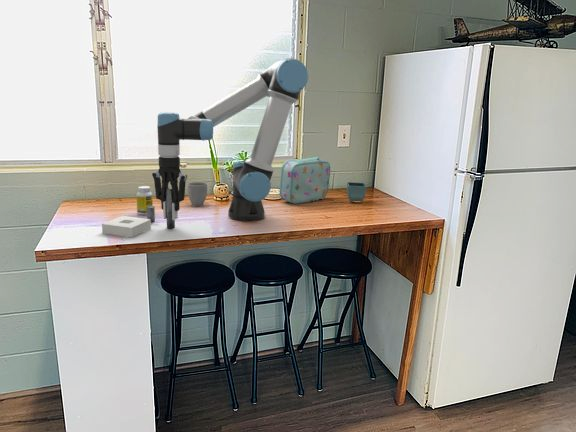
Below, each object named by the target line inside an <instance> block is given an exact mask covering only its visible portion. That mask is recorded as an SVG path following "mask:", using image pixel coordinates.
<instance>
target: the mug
mask: <svg viewBox="0 0 576 432" xmlns="http://www.w3.org/2000/svg"><path fill="white" fill-rule="evenodd" d="M186 185H187V186H186V187H187V195H188V199H189V201H190V204H191V205H192V207H193V206H194V207H200V206H201V207H202V206H204V205H205V201H206V198H207V195H208V183H207V182H204V181H192V182H187V184H186Z"/></svg>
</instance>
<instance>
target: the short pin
mask: <svg viewBox="0 0 576 432" xmlns="http://www.w3.org/2000/svg"><path fill="white" fill-rule="evenodd" d="M146 208H147V215H146V219H151V224H152V223H155V222H156V214H155V213H156V212H155V211H156V209H155V206H154V205H153V206H147V207H146Z"/></svg>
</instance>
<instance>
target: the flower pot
mask: <svg viewBox="0 0 576 432" xmlns="http://www.w3.org/2000/svg"><path fill="white" fill-rule="evenodd" d="M367 188H368V186H367V185H366V184H365V182H353V181H351V182H350V181H347V182H346V193H347V198H348V200H349V202H350V201H362V202H363V201H364V200H365V197H366V193H367Z"/></svg>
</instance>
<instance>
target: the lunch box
mask: <svg viewBox="0 0 576 432" xmlns="http://www.w3.org/2000/svg"><path fill="white" fill-rule="evenodd" d="M330 177H331V164H330V162H328V161H326V160H323V159H321V158H320V157H319V156H313V157H307V158H298V159H287V160H286V161H284V162H283V164H282V166H281V171H280V182H279V196H280V199H281V200H282V201H287V202H289V203H291V204H294V205H295V204H296V205H297V204H302V203H303V204H304V203H312V202H311V201H313V202H315V200H316V201H320V200H319V199H322V198H324V199H325V198H326V196H327V195H328V191H329V187H330V186H329V185H330ZM322 200H323V199H322Z"/></svg>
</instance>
